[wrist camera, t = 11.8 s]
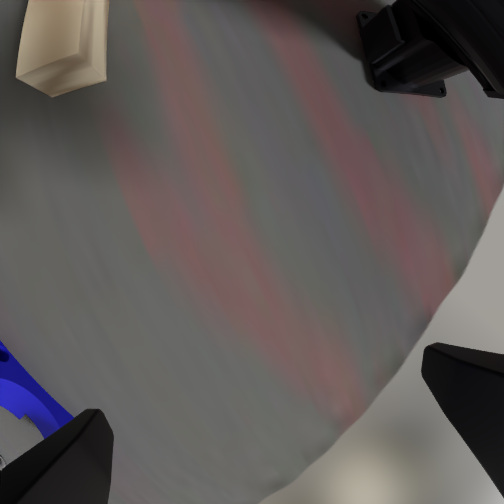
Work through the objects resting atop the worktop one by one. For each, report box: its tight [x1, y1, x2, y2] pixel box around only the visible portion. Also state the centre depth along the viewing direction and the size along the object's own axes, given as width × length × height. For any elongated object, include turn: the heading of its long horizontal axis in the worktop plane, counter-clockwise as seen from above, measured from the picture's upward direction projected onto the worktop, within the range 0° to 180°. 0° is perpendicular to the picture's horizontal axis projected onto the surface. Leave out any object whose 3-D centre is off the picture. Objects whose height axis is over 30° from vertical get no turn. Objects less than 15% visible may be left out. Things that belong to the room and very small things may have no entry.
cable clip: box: [0, 341, 74, 439], centre depth 16 cm, size 12×4×6 cm, turn 38°
